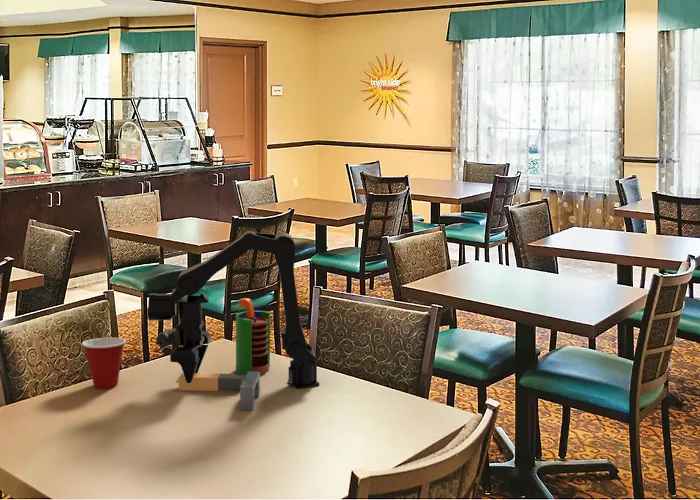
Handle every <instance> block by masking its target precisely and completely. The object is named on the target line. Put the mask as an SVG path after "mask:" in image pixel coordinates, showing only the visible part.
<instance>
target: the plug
mask: <svg viewBox="0 0 700 500" xmlns="http://www.w3.org/2000/svg"><path fill="white" fill-rule="evenodd" d="M244 378H245V376H244V374H238V373H212V372H211V373H210V372H209V373H207V372H204V373H203V372H198V373H194V376H193V379H192V382H191V383H187V382H186V379H185V376H184V373H183V372H181V373H180V375H179V377H178V378H177V379H176V380H175V383H176V384H178V390H179V391H207V392H208V391H210V392H211V391H212V392H213V391H214V392H216V391H217V392H219V391H221V392H240V386H241V384H242V382H243V380H244Z"/></svg>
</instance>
